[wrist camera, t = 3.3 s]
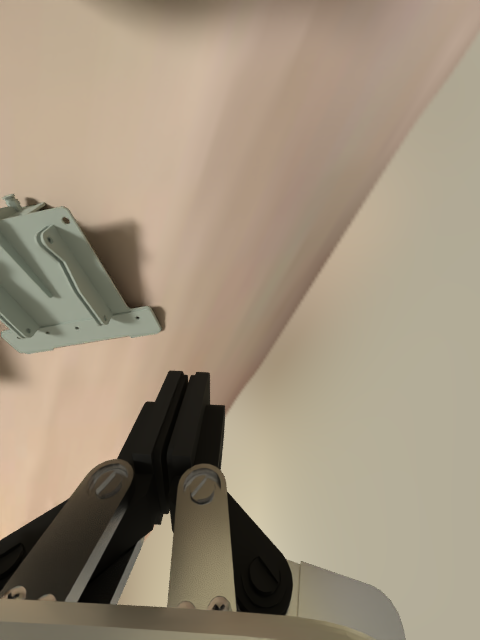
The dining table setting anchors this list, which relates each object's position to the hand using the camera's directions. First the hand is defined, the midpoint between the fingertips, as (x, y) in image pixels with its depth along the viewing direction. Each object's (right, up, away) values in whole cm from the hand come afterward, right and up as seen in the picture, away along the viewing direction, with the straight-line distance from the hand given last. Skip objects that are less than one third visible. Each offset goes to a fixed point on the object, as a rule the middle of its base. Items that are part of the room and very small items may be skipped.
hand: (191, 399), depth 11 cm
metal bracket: (-14, +7, +13) cm, 21 cm away
